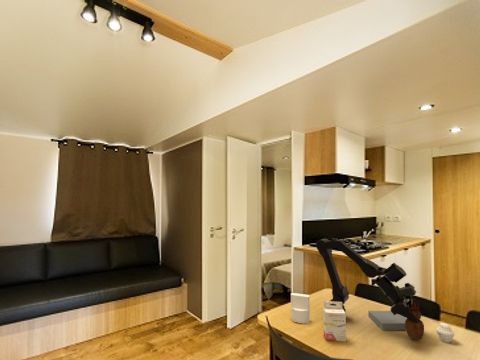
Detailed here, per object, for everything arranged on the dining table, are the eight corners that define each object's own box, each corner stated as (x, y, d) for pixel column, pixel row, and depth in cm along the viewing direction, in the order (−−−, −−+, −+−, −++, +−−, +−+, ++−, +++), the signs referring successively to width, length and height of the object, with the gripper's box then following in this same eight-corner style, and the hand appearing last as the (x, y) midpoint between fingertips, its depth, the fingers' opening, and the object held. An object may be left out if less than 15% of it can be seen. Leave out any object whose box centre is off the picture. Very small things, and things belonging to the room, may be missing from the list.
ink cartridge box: (325, 340, 117) (325, 305, 118) (323, 334, 122) (322, 300, 123) (346, 341, 116) (345, 305, 117) (343, 335, 121) (342, 301, 122)
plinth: (382, 330, 126) (382, 323, 126) (368, 316, 140) (368, 310, 140) (413, 330, 126) (413, 323, 126) (396, 316, 140) (396, 310, 140)
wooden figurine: (422, 336, 119) (420, 300, 121) (426, 342, 114) (425, 304, 115) (404, 333, 121) (403, 297, 123) (407, 338, 116) (406, 301, 117)
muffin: (438, 335, 121) (437, 318, 121) (456, 340, 117) (455, 323, 117) (435, 340, 117) (434, 323, 117) (453, 346, 112) (452, 328, 113)
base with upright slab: (289, 322, 135) (289, 296, 135) (293, 314, 143) (292, 291, 144) (308, 325, 131) (307, 299, 132) (311, 317, 139) (310, 293, 140)
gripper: (398, 283, 114) (431, 318, 107) (406, 273, 129) (436, 303, 121) (378, 298, 119) (408, 332, 111) (388, 287, 133) (415, 316, 126)
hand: (418, 320), depth 117 cm, fingers closed on wooden figurine, 4 cm apart
